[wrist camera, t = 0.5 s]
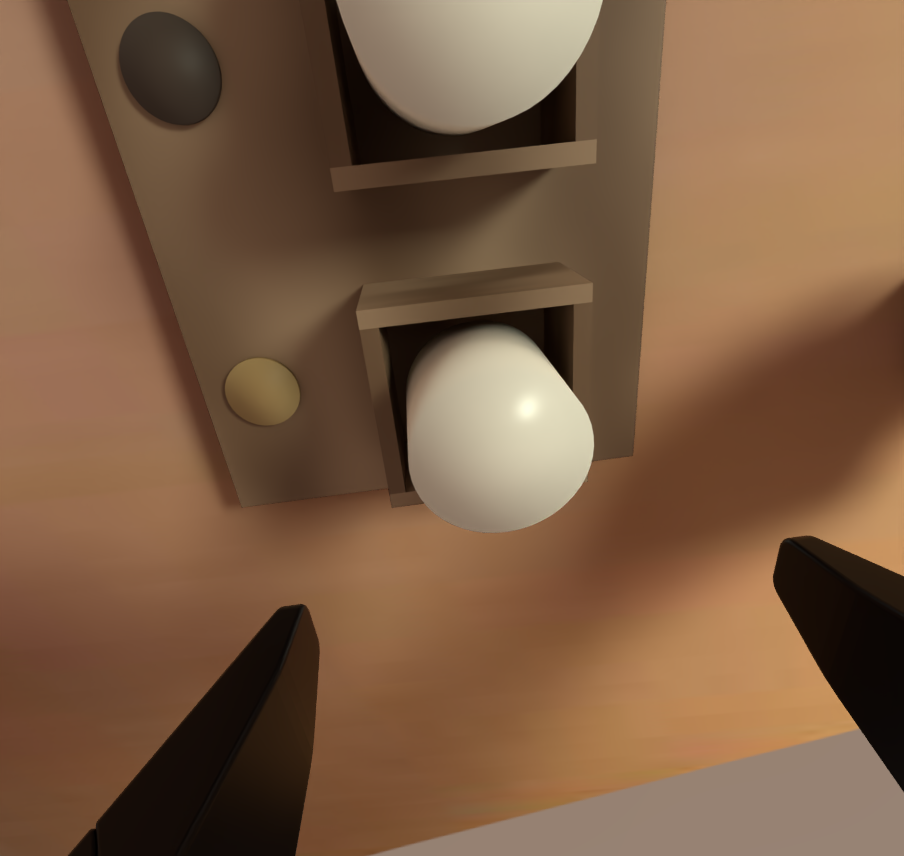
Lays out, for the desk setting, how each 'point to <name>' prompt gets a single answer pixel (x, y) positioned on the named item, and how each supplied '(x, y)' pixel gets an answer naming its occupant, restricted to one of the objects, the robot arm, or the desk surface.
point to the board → (372, 226)
